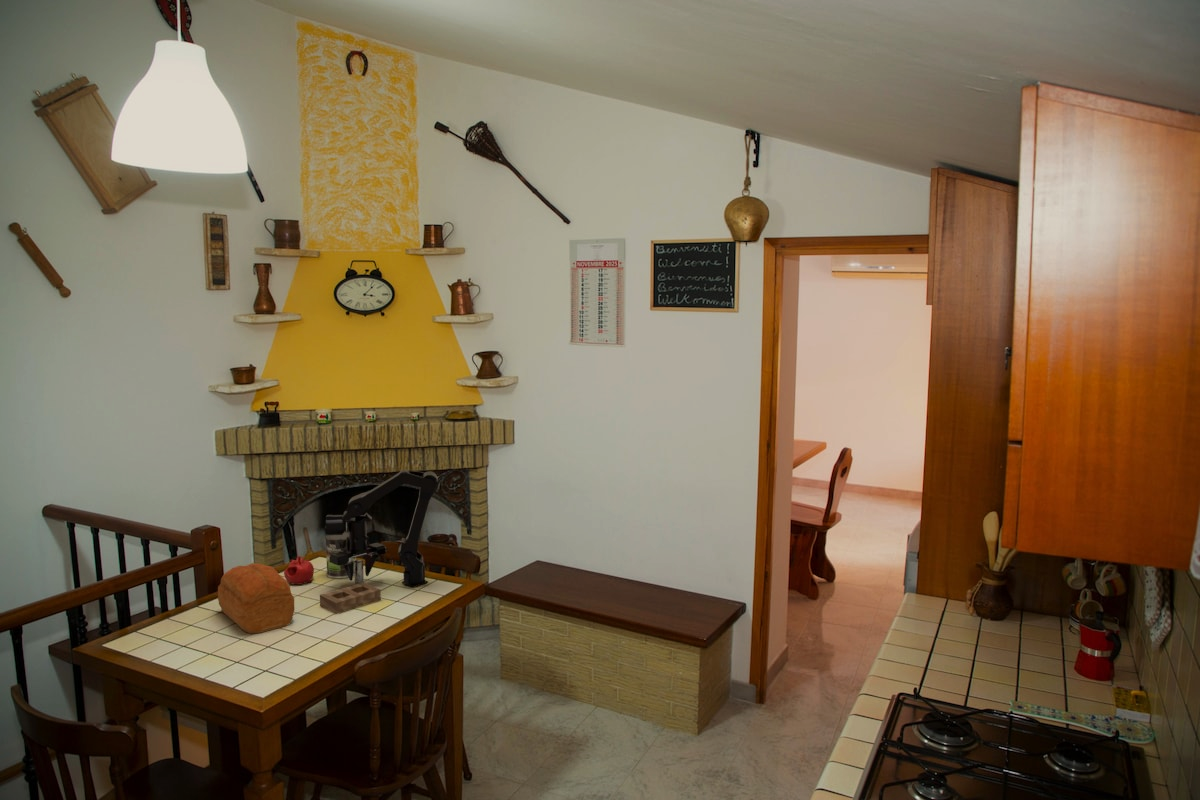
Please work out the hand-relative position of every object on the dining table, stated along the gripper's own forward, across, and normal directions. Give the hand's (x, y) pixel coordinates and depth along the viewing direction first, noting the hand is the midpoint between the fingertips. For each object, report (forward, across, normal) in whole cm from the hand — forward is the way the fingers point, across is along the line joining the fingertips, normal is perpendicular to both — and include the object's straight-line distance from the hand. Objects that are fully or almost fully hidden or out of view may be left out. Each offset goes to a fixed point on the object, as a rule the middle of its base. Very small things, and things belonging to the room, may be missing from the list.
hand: (359, 578), depth 279 cm
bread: (+3, +36, 0) cm, 36 cm away
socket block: (+3, +10, +11) cm, 15 cm away
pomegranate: (+3, +11, -20) cm, 23 cm away
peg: (+3, 0, 0) cm, 3 cm away
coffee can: (+3, -3, -16) cm, 17 cm away
